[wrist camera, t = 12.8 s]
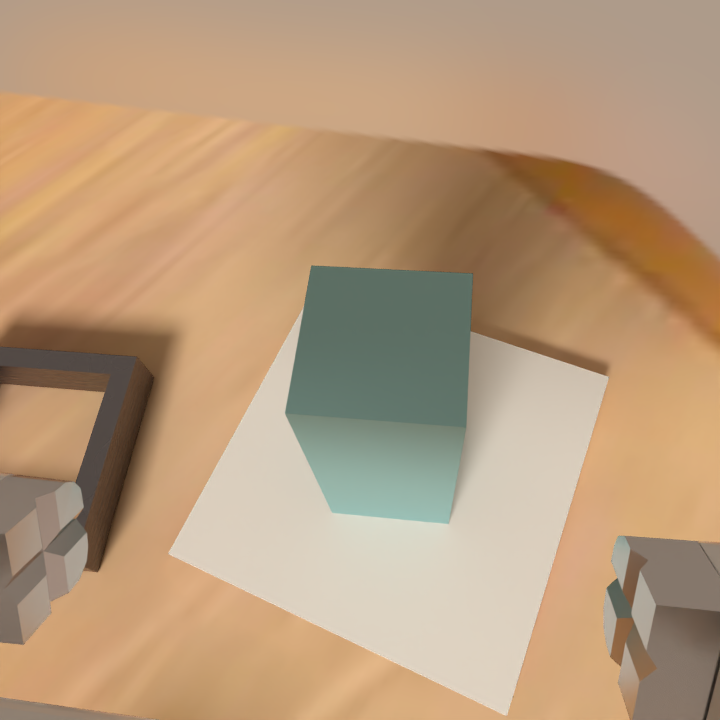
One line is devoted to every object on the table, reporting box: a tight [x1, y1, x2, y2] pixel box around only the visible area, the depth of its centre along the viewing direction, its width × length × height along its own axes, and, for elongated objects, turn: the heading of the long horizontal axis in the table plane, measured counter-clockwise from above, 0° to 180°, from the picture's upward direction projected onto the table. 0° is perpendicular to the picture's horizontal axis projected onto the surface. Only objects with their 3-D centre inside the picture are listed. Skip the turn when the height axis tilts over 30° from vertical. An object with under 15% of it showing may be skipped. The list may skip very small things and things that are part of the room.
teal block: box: [285, 266, 473, 524], centre depth 19 cm, size 4×4×9 cm
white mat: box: [168, 307, 609, 716], centre depth 23 cm, size 12×12×1 cm
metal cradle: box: [0, 347, 154, 572], centre depth 24 cm, size 8×8×2 cm
